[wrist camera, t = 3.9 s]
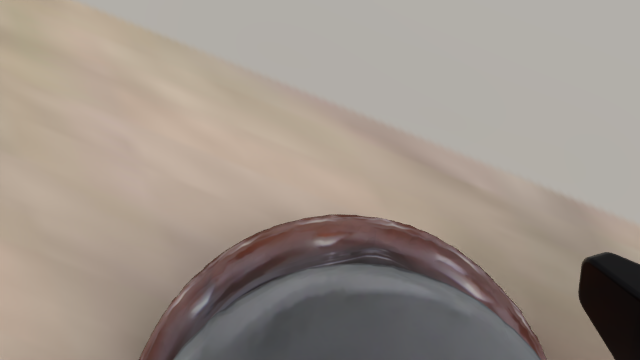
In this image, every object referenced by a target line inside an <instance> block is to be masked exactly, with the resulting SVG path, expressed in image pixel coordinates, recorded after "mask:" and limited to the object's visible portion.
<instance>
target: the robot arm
mask: <svg viewBox="0 0 640 360" xmlns="http://www.w3.org/2000/svg"><path fill="white" fill-rule="evenodd" d="M578 293H579V300H580V303H581V305H582V307H583V309H584V310H585V312H586V314H587V315H588V317H589V318H590V320H591V322H592V323H593V325H594V326H595V328H596V330H597V331H598V333H599V335H600V336H601V338H602V339H603V341H604V343H605V344H606V346H607V347H608V349H609V351H610V352H611V354H612V355H613V357H614V359H615V360H640V264H638V263H635V262H633V261H630V260H628V259H626V258H623V257H621V256H618V255H616V254H613V253H609V252H605V253H601V254H597V255H594V256H591V257H587V258H585V259H584V261H583V262H582V266H581V274H580V283H579V291H578Z"/></svg>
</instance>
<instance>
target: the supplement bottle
mask: <svg viewBox="0 0 640 360" xmlns="http://www.w3.org/2000/svg"><path fill="white" fill-rule="evenodd" d="M139 360H547V359H546V357H545V355H544V353H543V350H542V347H541V345H540V343H539V341H538V338H537V336H536V335H535V334H534V333H533V331H532V330H531V328H530V326H529V324H528V323H527V321H526V320H525V318H524V316H523V315H522V312H521V310H520V309H519V308H518V307H517V306H516V305H515V304H514V303H513V302H512V300H511V299H510V298H509V297H508V296H507V295H506V294H505V292H504V291H503V290H502V288H501V287H500V286H498V285H497V284H496V283H495V282H494V281H493V279H492V278H491V277H490V276H489V275H488V274H487V273H486V272H484V271H483V269H482V268H481V267H480V266H478V265H477V264H476V263H474V262H473V261H472V260H470V259H469V258H468V257H466V256H465V255H463V254H462V253H461V252H460V251H459V250H457V249H456V248H454V247H453V246H450V245H448V244H447V243H445V242H443V241H442V240H440V239H439V238H437V237H435V236H433V235H431V234H429V233H427V232H425V231H422V230H418V229H416V228H415V227H413V226H411V225H406V224H402V223H399V222H395V221H392V220H387V219H382V218H375V217H364V216H358V215H326V216H319V217H310V218H304V219H301V220H297V221H293V222H288V223H284V224H281V225H277V226H274V227H272V228H270V229H267V230H263V231H261V232H259V233H256V234H255V235H253V236H251V237H249V238H246V239H244V240H243V241H241V242H239V243H238V244H236V245H234V246H233V247H231V248H229V249H228V250H226V251H225V252H223V253H222V254H220V255H219V256H218V257H216V258H215V259H214V260H213V261H212V262H210V263H209V264H208V265H207V266H206V267H205V268H204V269H203V270H202V271H201V272H199V273H198V274H197V275H196V276H194V277H193V278H192V279H191V280H190V281H189V282H188V283H187V284H186V285H185V286H184V288H183V289H182V290H181V292H180V293H179V295H178V296H177V297H176V298H175V299H174V300H173V301H172V302H171V304H170V305H169V307H168V309H167V310H166V311H165V313H164V314H163V315H162V317H161V319H160V320H159V322H158V324H157V325H156V327H155V329H154V330H153V332H152V334H151V336H150V338H149V340H148V342H147V344H146V346H145V348H144V350H143V352H142V354H141V357H140V359H139Z"/></svg>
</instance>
